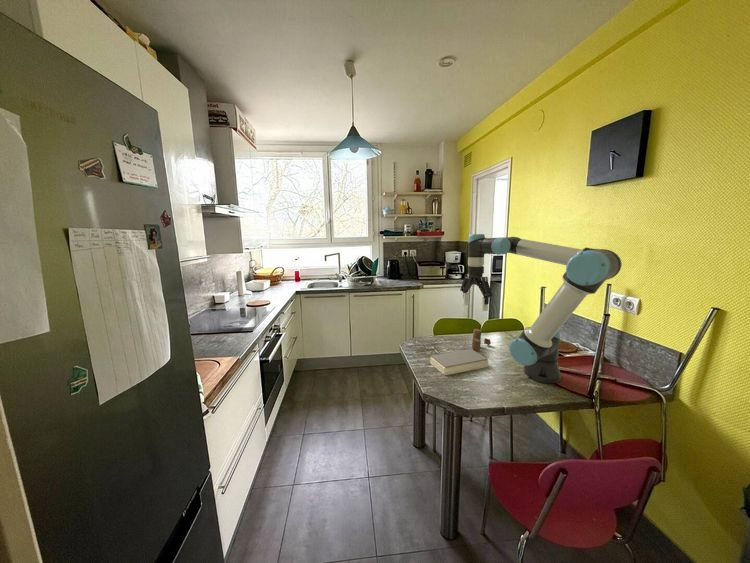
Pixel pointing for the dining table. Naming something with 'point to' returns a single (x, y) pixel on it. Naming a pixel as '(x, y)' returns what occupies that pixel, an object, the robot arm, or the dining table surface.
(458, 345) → the dining table surface
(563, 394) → the dining table surface
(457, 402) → the dining table surface
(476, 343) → the wooden block set
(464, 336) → the dining table surface
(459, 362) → the two-tone flat slab
